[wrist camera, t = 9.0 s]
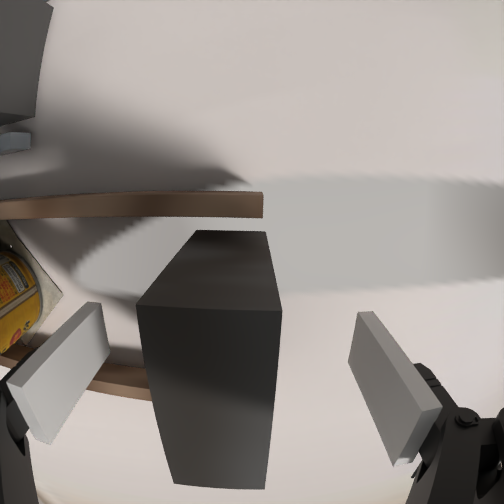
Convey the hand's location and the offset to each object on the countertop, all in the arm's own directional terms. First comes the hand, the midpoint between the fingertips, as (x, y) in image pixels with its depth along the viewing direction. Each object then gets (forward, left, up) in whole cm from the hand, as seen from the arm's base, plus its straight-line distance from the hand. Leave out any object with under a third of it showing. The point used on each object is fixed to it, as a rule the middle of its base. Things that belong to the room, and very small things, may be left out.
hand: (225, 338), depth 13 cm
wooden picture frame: (+10, 0, -4) cm, 10 cm away
